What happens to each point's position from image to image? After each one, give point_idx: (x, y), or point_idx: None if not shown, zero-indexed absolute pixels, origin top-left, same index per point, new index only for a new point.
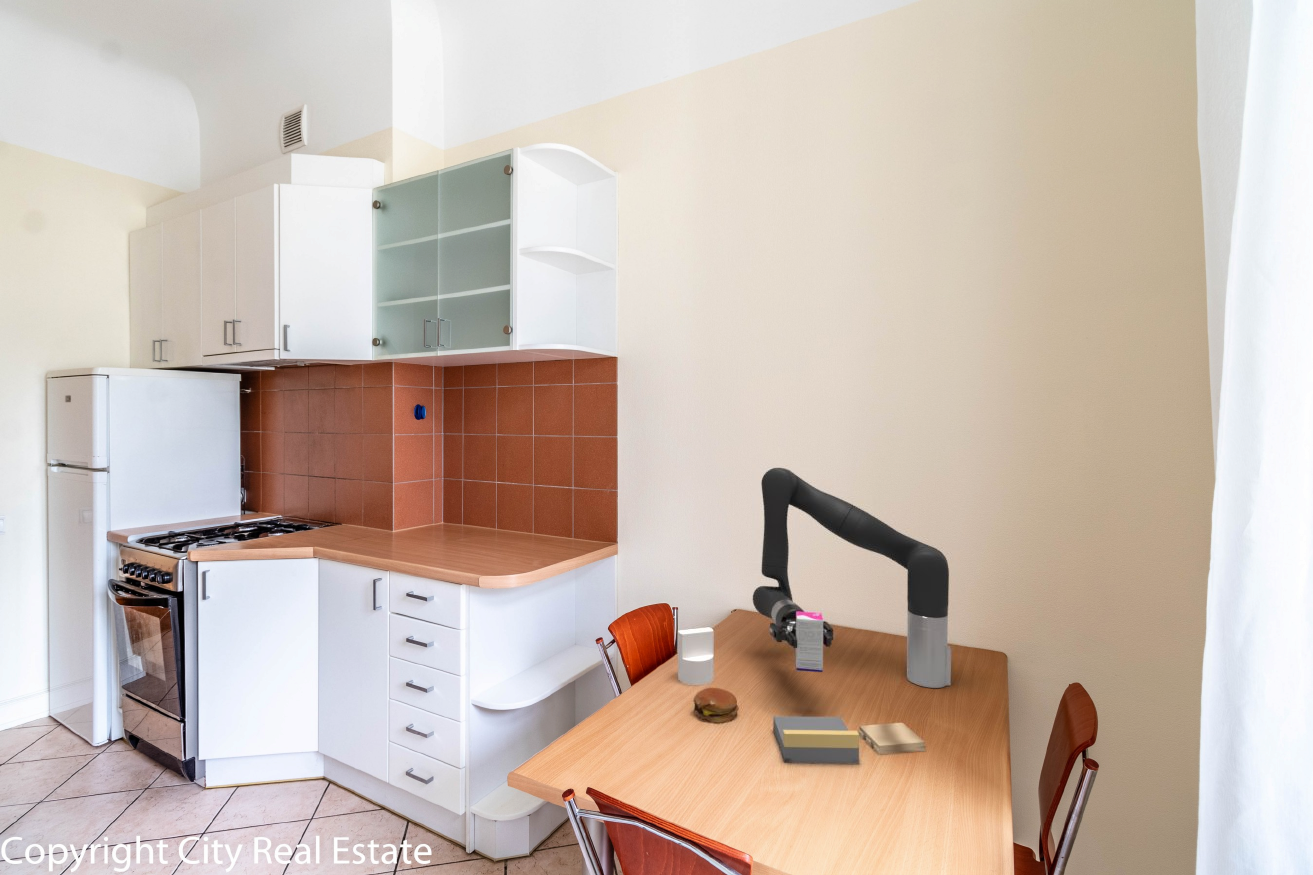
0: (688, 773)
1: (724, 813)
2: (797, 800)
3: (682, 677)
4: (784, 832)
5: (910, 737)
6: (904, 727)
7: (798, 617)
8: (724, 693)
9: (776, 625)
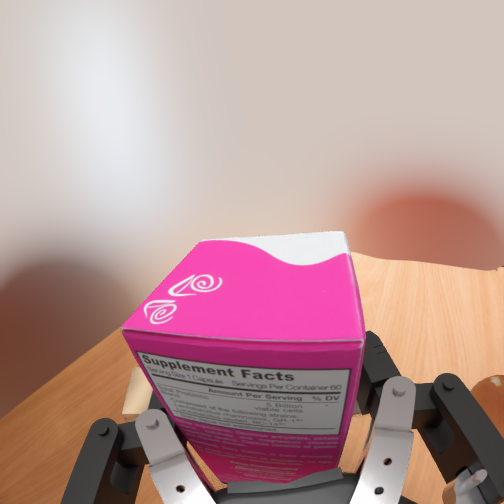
0: (447, 299)
1: (394, 272)
2: None
3: None
4: None
5: (142, 377)
6: (129, 401)
7: (337, 240)
8: (493, 415)
9: (483, 466)
